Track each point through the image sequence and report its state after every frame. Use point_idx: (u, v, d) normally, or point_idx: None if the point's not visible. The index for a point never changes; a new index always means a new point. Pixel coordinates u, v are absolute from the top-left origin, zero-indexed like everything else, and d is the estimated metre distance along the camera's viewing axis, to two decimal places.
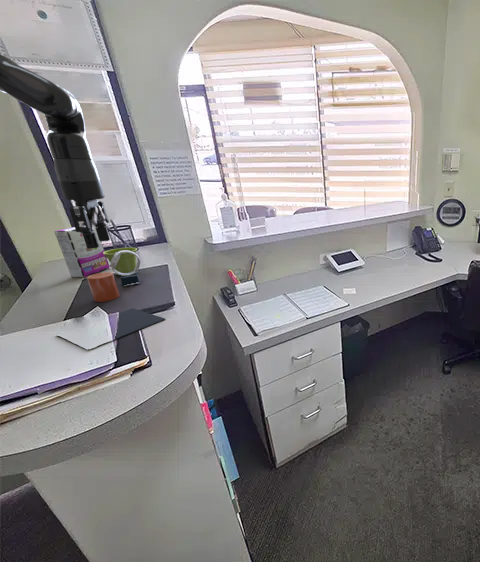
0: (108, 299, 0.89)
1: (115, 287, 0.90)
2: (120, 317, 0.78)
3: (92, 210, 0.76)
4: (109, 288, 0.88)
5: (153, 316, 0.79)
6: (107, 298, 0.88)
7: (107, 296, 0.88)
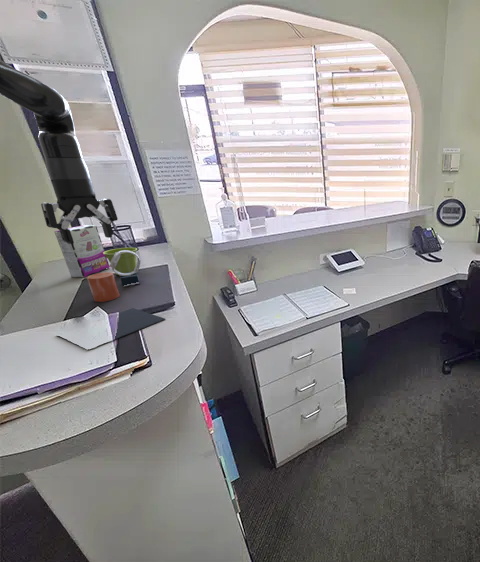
0: (108, 299, 0.89)
1: (115, 287, 0.90)
2: (120, 317, 0.78)
3: (72, 207, 0.78)
4: (109, 288, 0.88)
5: (153, 316, 0.79)
6: (107, 298, 0.88)
7: (107, 296, 0.88)
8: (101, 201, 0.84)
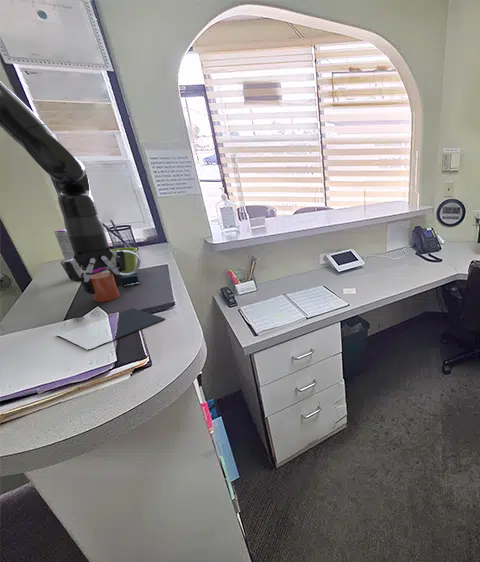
0: (108, 299, 0.89)
1: (115, 287, 0.90)
2: (120, 317, 0.78)
3: (88, 260, 0.84)
4: (109, 288, 0.88)
5: (153, 316, 0.79)
6: (107, 298, 0.88)
7: (107, 296, 0.88)
8: (114, 252, 0.90)
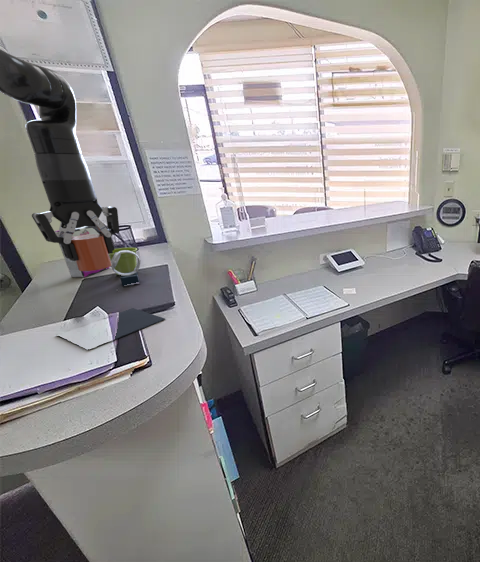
0: (97, 268, 0.68)
1: (106, 253, 0.70)
2: (120, 317, 0.78)
3: (69, 215, 0.64)
4: (98, 254, 0.68)
5: (153, 316, 0.79)
6: (95, 266, 0.68)
7: (95, 264, 0.68)
8: (104, 208, 0.70)
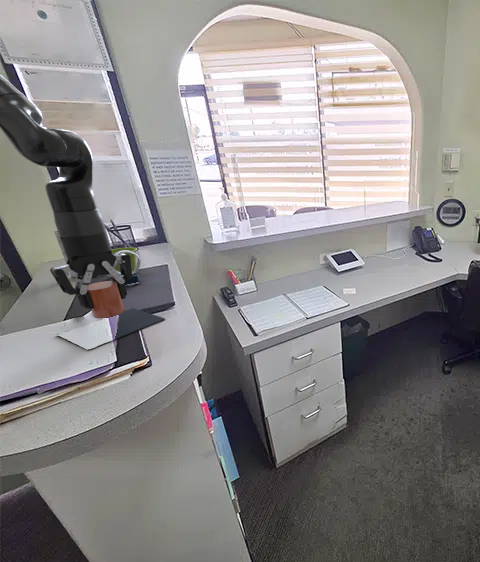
0: (111, 315, 0.71)
1: (119, 300, 0.72)
2: (120, 317, 0.78)
3: (85, 267, 0.66)
4: (112, 301, 0.70)
5: (153, 316, 0.79)
6: (109, 314, 0.70)
7: (109, 311, 0.70)
8: (118, 256, 0.72)
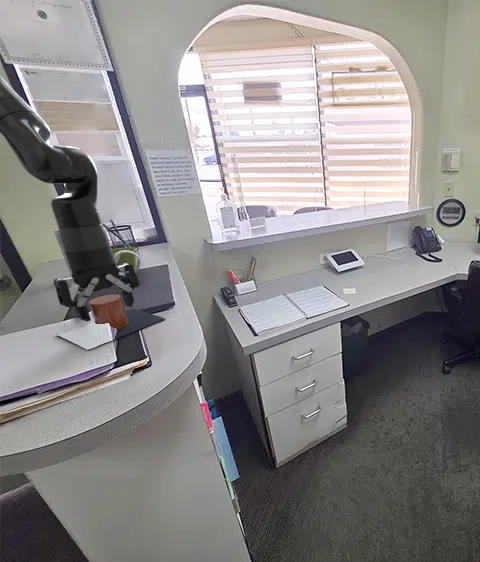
0: None
1: (123, 313, 0.73)
2: None
3: (89, 281, 0.67)
4: (116, 315, 0.72)
5: (153, 316, 0.79)
6: (114, 327, 0.72)
7: (113, 325, 0.71)
8: (121, 267, 0.73)
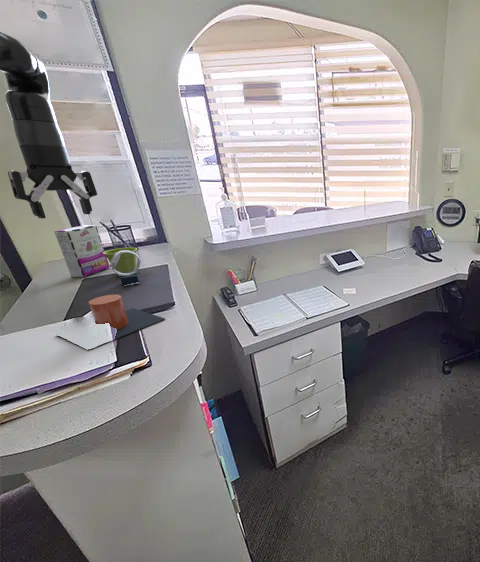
0: None
1: (123, 313, 0.73)
2: None
3: (44, 178, 0.71)
4: (116, 315, 0.72)
5: (153, 316, 0.79)
6: (114, 327, 0.72)
7: (113, 325, 0.71)
8: (78, 173, 0.76)
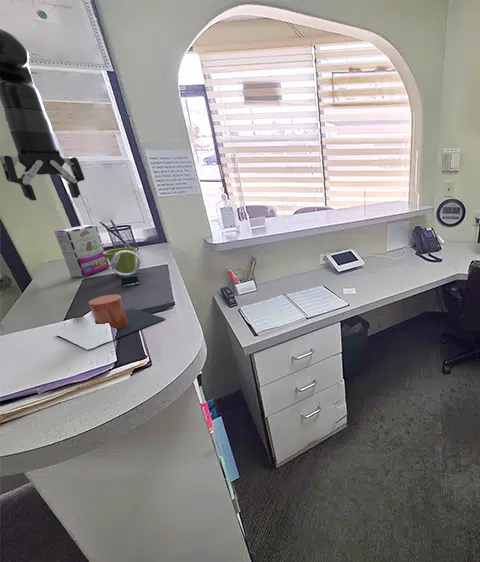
0: None
1: (123, 313, 0.73)
2: None
3: (34, 162, 0.76)
4: (116, 315, 0.72)
5: (153, 316, 0.79)
6: (114, 327, 0.72)
7: (113, 325, 0.71)
8: (66, 159, 0.82)
